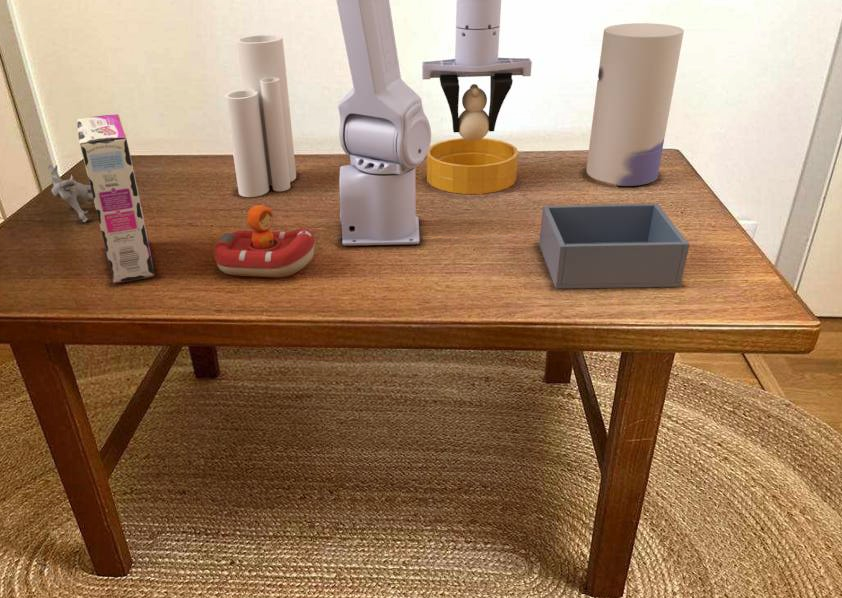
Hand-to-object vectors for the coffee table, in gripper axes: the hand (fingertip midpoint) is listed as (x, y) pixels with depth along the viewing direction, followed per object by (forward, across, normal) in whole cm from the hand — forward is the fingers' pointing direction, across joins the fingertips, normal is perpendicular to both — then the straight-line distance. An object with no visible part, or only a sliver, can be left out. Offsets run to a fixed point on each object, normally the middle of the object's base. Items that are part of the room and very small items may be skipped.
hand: (473, 130), depth 102 cm
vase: (+8, +30, -1) cm, 31 cm away
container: (+8, -22, -1) cm, 23 cm away
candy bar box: (+8, +43, +25) cm, 50 cm away
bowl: (+8, 0, 0) cm, 8 cm away
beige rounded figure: (+2, 0, 0) cm, 2 cm away
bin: (+8, -13, +28) cm, 32 cm away
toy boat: (+8, +26, +27) cm, 38 cm away
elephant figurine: (+8, +56, +8) cm, 57 cm away
